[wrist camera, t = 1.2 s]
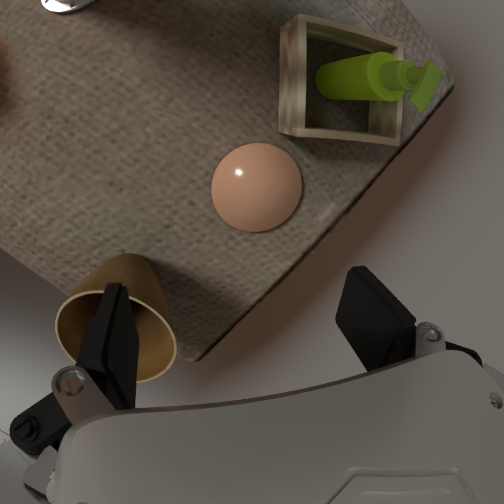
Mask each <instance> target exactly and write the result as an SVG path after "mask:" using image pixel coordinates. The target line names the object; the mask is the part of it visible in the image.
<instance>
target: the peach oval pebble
mask: <svg viewBox="0 0 504 504" xmlns="http://www.w3.org/2000/svg"><path fill="white" fill-rule="evenodd" d="M301 190H302V180H301V174H300V171H299V169H298V166H297V164H296V163H295V161H294V160H293V159H292V157H291V156H290V155H289V154H288V153H286V152H285V151H283V150H282V149H280V148H278V147H276V146H273V145H270V144H267V143H259V142H256V143H248V144H244V145H241V146H239V147H237V148H235V149H233V150H231V151H230V152H229V153H227V154H226V155H225V156H224V157H223V158H222V159H221V161H220V162H219V163H218V165H217V167H216V169H215V171H214V173H213V176H212V181H211V196H212V200H213V203H214V206H215V208H216V210H217V212H218V214H219V215H220V216H221V218H222V219H223V220H224V221H225V222H227V223H228V224H229V225H231V226H233V227H234V228H237V229H239V230H242V231H247V232H260V231H265V230H269V229H272V228H274V227H276V226H278V225H279V224H281V223H282V222H284V221H285V220H286V219H287V218H288V217H289V216H290V215H291V214H292V212H293V211H294V210H295V208H296V206H297V204H298V202H299V199H300V196H301Z"/></svg>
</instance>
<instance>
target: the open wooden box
mask: <svg viewBox="0 0 504 504" xmlns="http://www.w3.org/2000/svg"><path fill="white" fill-rule="evenodd" d="M306 37H307V38H313V39H318V40H323V41H328V42H333V43H337V44H342V45H346V46H350V47H354V48H357V49H361V50H365V51H368V52H370V54H371V53H377V52H387V53H390V54H392V55H393V56H395V57H396V58H397V59H398V60H399V61H401V60H403V43H401V42H398V41H396V40H393V39H390V38H388V37H385V36H382V35H379V34H377V33H374V32H371V31H368V30H364V29H361V28H358V27H355V26H351V25H347V24H344V23H340V22H336V21H332V20H328V19H324V18H319V17H314V16H309V15H304V14H297V15H296V16H294V17H293V18H292V19H290V20H289V21H288V22H286V23H285V24H284V25H283V26H281V27H280V74H279V124H278V132H280V133H284V134H288V135H292V136H296V137H314V138H329V139H341V140H352V141H361V142H370V143H378V144H385V145H392V146H399V147H400V137H401V125H402V109H403V96H402V97H401V98H400V99H398V100H396V101H374V100H370V101H369V121H368V133H365V132H358V131H349V130H340V129H330V128H318V127H305V107H306Z"/></svg>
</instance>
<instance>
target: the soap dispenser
mask: <svg viewBox="0 0 504 504" xmlns="http://www.w3.org/2000/svg"><path fill="white" fill-rule="evenodd" d="M440 76H441V72H440V70H439V69H438V68H437V67H436V65H435V64H434V63H433V62H432V61H431V60H430V59H428V60H426V61H425V64H424V67H416V66H415V65H414V64H413V63H412V62H410V61H407V60H401V61H399V60H398V59H397V58H396V57H395V56H393V55H392V54H390V53H387V52H377V53H371V54H366V55H361V56H356V57H352V58H347V59H343V60H339V61H335V62H331V63H327V64H324V65H322V66H321V67H320V68H319V69H318V70H317V72H316V75H315V83H316V86H317V89H318V90H319V92H320V93H321V94H322V95H323V96H324V97H326V98H328V99H331V100H374V101H396V100H398V99H400V98H401V97H402V96H403V95H404V93H405V91H412V92H411V93H410V95H409V100H410V101H411V103H412V104H413V105H414V106H415V107H416V108H417V109H418V110H419V111H420V112H423V110H424V109H425V108H426V106H427V105H428V103H429V102H430V100H431V98H432V97H433V95H434V93H435V90H436V88H437V85H438V82H439V79H440Z"/></svg>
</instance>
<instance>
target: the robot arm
mask: <svg viewBox="0 0 504 504" xmlns="http://www.w3.org/2000/svg"><path fill="white" fill-rule="evenodd" d="M41 1H42V4H43V6H44V7H45V8H46V9H48V10H49V11H51V12H54V13H69V12H73V11H76V10H78V9H81V8H83V7H85V6H87V5H89V4H91V3H92V2H94V1H95V0H41ZM335 318H336V324H337V325H338V327H339V328H340V330H341V331H342V333H343V334H344V336H345V337H346V339H347V341H348V342H349V344H350V345H351V347H352V348H353V350H354V351H355V353H356V354H357V356H358V358H359V359H360V361H361V362H362V364H363V365H364V367H365V368H366V370H367V372H366V373H363V374H359V375H356V376H352V377H349V378H345V379H341V380H337V381H333V382H329V383H325V384H321V385H317V386H313V387H308V388H304V389H299V390H294V391H289V392H284V393H279V394H273V395H268V396H262V397H255V398H248V399H242V400H235V401H226V402H217V403H207V404H196V405H184V406H168V407H149V408H135V397H136V380H137V367H138V355H139V345H140V341H139V335H138V331H137V327H136V323H135V319H134V315H133V311H132V307H131V303H130V299H129V294H128V290H127V287H126V286H122V283H107V285H106V288H105V290H104V293H103V296H102V299H101V302H100V305H99V308H98V311H97V314H96V316H91V317H90V319H89V321H88V324H87V327H86V330H85V333H84V336H83V340H82V343H81V347H80V350H79V353H78V357H77V361H76V365H75V366H67V367H64V368H62V369H61V370H59V371H58V372H57V373H56V374H55V375H54V377H53V379H52V384H51V385H52V386H51V387H52V390H53V392H52V393H50V394H49V395H47V396H46V397H44V398H43V399H42V400H40V401H38V402H37V403H35V404H34V405H33V406H31V407H30V408H28V409H27V410H25V411H24V412H22V413H21V414H19V415H18V416H17V417H16V418H15V419H14V420H13V421H12V423H11V425H10V437H11V438H10V439H9V440H8V442H7V441H6V440H4V441H3V442H2V444H1V445H0V504H51V503H50V502H49V501H48V499H47V497H46V487H47V485H48V483H49V482H50V480H51V479H50V478H49V476H50V475H51V473H52V472H53V471H55V473H54V485H53V504H504V374H502V373H501V372H499V371H497V370H496V369H494V368H492V367H491V366H489V365H487V364H485V363H484V364H483V365H482V361H481V358H480V357H479V356H478V354H477V352H475V351H474V350H471V349H468V348H465V347H462V346H459V345H456V344H453V343H450V342H447V341H445V336H444V333H443V332H442V330H441V329H440V328H439V327H438V326H436V325H435V324H432V323H429V322H422V323H420V324H418V325H417V327H416V326H415V325H414V324H415V322H416V318H415V317H414V316H413V315H412V314H411V313H410V312H409V311H408V309H407V308H406V307H405V306H404V305H403V304H402V303H401V302H400V301H399V300H398V299H397V298H396V297H395V296H394V295H393V294H392V293H391V292H390V291H389V290H388V289H387V288H386V287H385V285H384V284H383V283H382V282H380V280H378V279H377V277H376V276H375V275H374V274H373V273H372V272H370V270H368V268H367V267H365V266H354V267H352V268H351V270H349V271H348V273H347V277H346V281H345V285H344V288H343V292H342V296H341V299H340V303H339V306H338V310H337V314H336V317H335Z"/></svg>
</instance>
